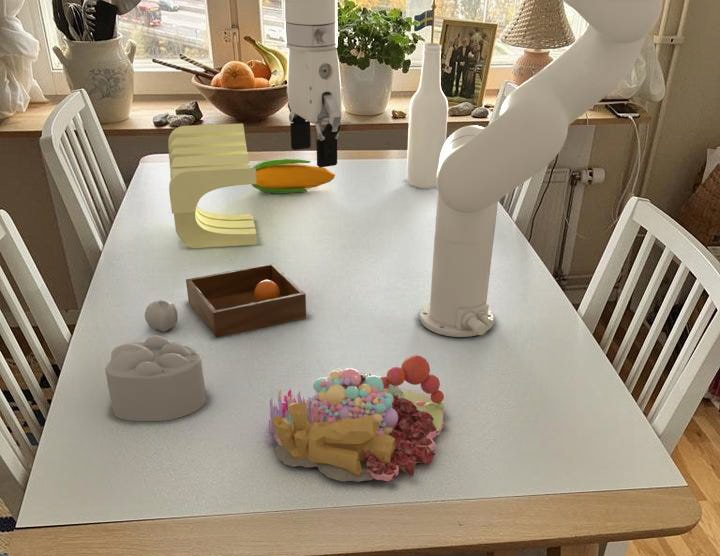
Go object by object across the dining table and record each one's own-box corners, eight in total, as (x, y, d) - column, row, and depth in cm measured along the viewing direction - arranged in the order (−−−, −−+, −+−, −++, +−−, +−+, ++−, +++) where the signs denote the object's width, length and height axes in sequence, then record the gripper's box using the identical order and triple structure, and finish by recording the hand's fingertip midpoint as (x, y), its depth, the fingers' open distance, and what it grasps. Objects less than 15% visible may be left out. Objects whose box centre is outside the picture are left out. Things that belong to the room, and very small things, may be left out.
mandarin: (284, 307, 149) (283, 283, 146) (260, 312, 147) (259, 288, 144) (274, 297, 152) (273, 274, 149) (251, 301, 150) (249, 278, 148)
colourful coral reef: (430, 498, 107) (435, 437, 101) (250, 476, 110) (245, 417, 104) (449, 395, 126) (454, 340, 121) (295, 379, 130) (293, 325, 124)
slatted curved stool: (176, 211, 186) (166, 126, 175) (249, 207, 189) (243, 123, 178) (178, 266, 163) (166, 172, 152) (261, 260, 165) (255, 168, 154)
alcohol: (403, 177, 206) (409, 40, 188) (439, 176, 207) (448, 40, 189) (409, 189, 200) (415, 48, 181) (445, 188, 200) (456, 48, 182)
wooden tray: (306, 318, 146) (305, 293, 143) (215, 337, 140) (213, 312, 137) (274, 286, 156) (273, 262, 154) (188, 303, 150) (185, 279, 147)
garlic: (185, 330, 142) (182, 301, 139) (155, 338, 140) (151, 309, 136) (171, 316, 146) (167, 288, 143) (141, 324, 143) (136, 296, 140)
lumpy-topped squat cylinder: (123, 383, 128) (113, 332, 123) (209, 382, 129) (203, 331, 123) (109, 421, 120) (98, 368, 115) (202, 420, 120) (195, 367, 115)
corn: (246, 153, 195) (333, 151, 197) (249, 186, 200) (333, 183, 202) (247, 166, 189) (336, 163, 191) (249, 199, 194) (336, 196, 196)
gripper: (361, 44, 117) (360, 169, 128) (310, 23, 129) (312, 139, 140) (312, 48, 115) (315, 176, 125) (264, 27, 127) (270, 145, 137)
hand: (313, 157), depth 132 cm, fingers open, 9 cm apart
